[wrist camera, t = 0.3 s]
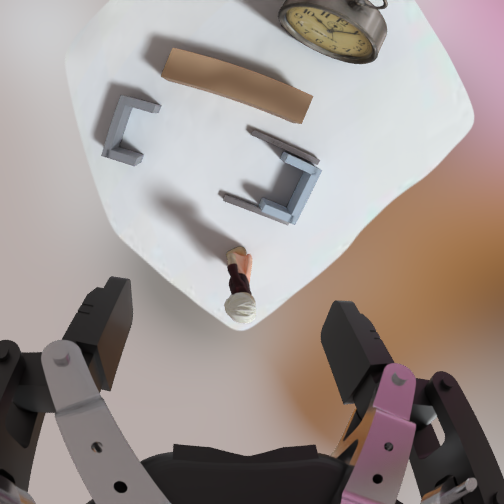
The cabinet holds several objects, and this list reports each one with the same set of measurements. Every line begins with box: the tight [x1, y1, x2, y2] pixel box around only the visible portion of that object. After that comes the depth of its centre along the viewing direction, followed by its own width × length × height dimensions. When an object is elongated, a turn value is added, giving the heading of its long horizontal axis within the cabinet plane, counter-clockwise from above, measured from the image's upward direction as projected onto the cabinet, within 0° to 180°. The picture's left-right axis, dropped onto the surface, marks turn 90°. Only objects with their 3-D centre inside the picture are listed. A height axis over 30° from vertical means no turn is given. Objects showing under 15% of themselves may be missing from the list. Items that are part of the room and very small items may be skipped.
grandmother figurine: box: [224, 247, 256, 323], centre depth 34 cm, size 8×4×13 cm, turn 23°
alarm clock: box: [278, 0, 388, 64], centre depth 20 cm, size 11×5×16 cm, turn 64°
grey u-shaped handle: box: [101, 95, 161, 166], centre depth 29 cm, size 8×4×3 cm, turn 156°
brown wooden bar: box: [161, 48, 313, 124], centre depth 28 cm, size 4×16×4 cm, turn 69°
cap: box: [259, 151, 322, 225], centre depth 34 cm, size 8×4×3 cm, turn 157°
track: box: [223, 130, 320, 225], centre depth 35 cm, size 10×9×1 cm
